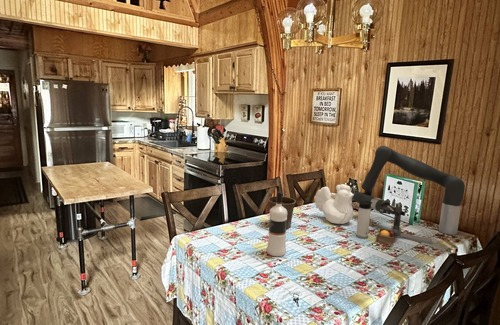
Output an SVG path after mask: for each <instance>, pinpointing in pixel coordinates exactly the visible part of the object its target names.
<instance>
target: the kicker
mask: <svg viewBox="0 0 500 325" xmlns="http://www.w3.org/2000/svg"><path fill="white" fill-rule="evenodd" d="M394 207H395V211H397V212H400V216H396V215H393V218H394V219H393V225H391V228H390V230H391V232H390V237H393V235H394V232H395V235H401V233H402V227H401V226H400V225H401V218H402V215H401V211H403V204H402V203H399V202H397V203H395V206H394Z"/></svg>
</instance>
